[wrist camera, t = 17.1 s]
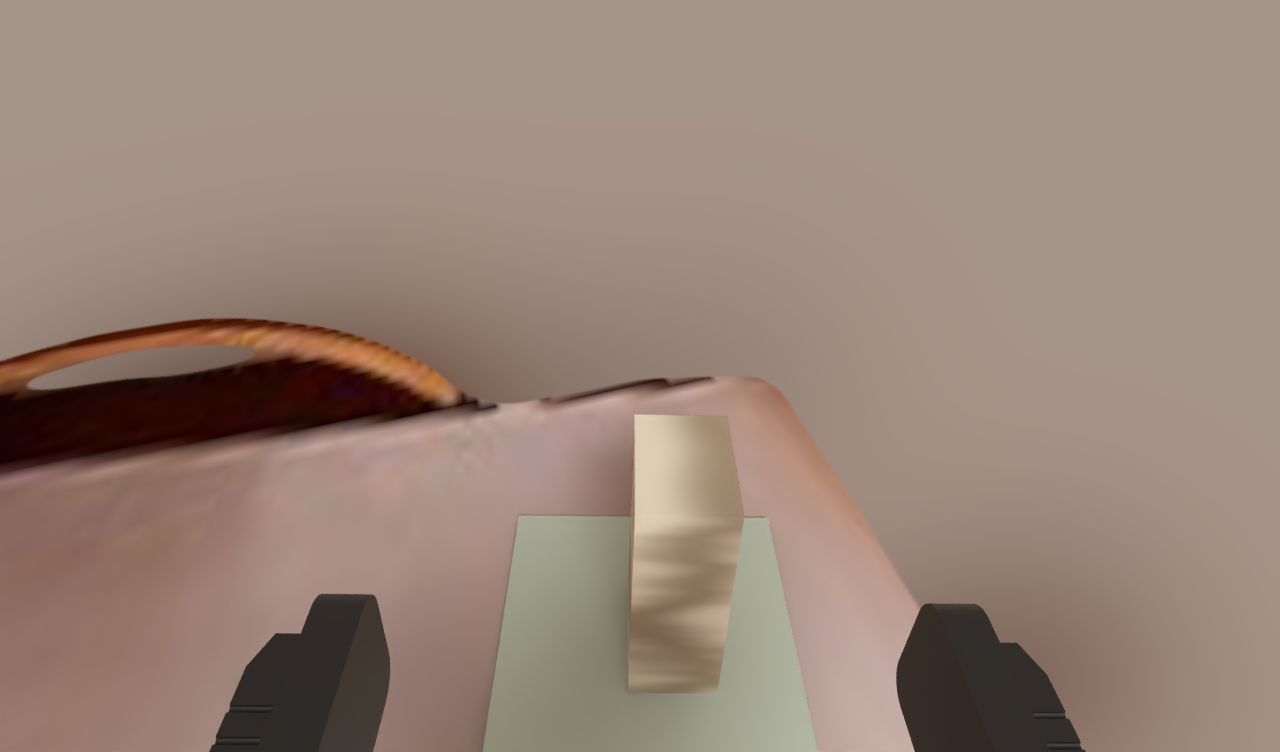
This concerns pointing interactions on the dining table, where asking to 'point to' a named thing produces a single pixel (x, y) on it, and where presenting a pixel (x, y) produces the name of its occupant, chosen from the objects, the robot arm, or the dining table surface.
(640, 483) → the block
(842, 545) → the dining table surface
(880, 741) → the dining table surface
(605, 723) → the mat
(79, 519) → the dining table surface
